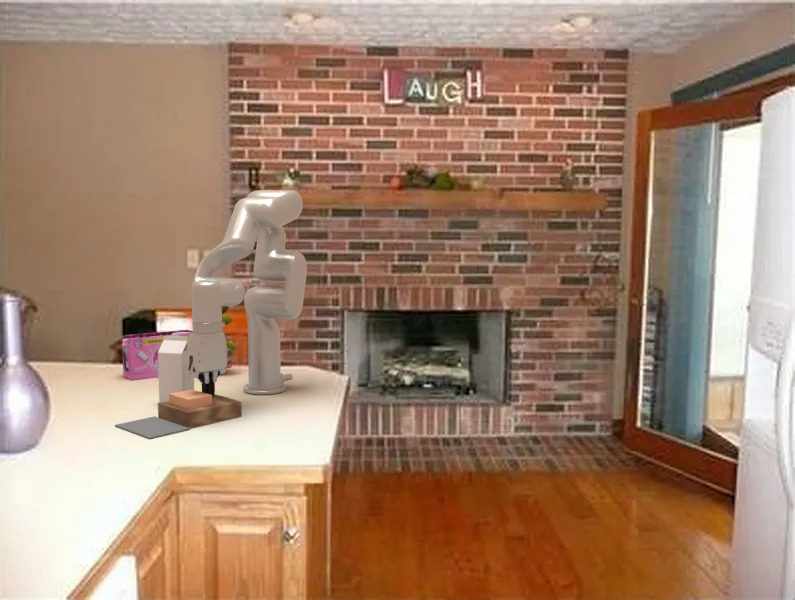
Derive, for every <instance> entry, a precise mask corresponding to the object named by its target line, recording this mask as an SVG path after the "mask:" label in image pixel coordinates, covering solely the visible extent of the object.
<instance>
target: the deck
mask: <svg viewBox="0 0 795 600" xmlns="http://www.w3.org/2000/svg"><path fill="white" fill-rule="evenodd" d="M242 404H243V403H242V401H241V400H238V399H234V398H230V397H226V396H222V395H219V394H215V397H214V398H212V405H208V406H203V407H198V408H194V409H186V408H182V407H179V406H176V405H173V404H170V403H169V401H166V402H161V403H159V402H157V413H158V414H157V415H158V418H161V419H164V420H167V421H170V422H173V423H176V424H179V425H182V426H185V427H188V428H190V429H194V428H198V427H203V426H206V425H210V424H215V423H218V422H223V421H227V420H231V419H236V418H240V417H242V415H243V413H242V411H243V409H242V407H243V405H242Z"/></svg>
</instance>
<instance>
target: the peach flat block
mask: <svg viewBox="0 0 795 600" xmlns="http://www.w3.org/2000/svg"><path fill="white" fill-rule="evenodd" d="M169 403H170V404H173V405H176V406H179V407H182V408H186V409H194V408H198V407H203V406H208V405H212V395H210V394H207V393H203V392H202V391H200V390H195V389H194V390H187V391H182V392H177V393H171V394H169Z"/></svg>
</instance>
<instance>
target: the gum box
mask: <svg viewBox="0 0 795 600" xmlns="http://www.w3.org/2000/svg"><path fill="white" fill-rule="evenodd" d="M190 334H193V330H191V329H190V330H189V329H179V330H178V329H177V330H171V331H170V330H169V331H159V332H158V331H157V332H149V333H148V332H147V333H137V334H125V335H122V337H121V339H122V340H121V342H122V343H121V348H122V375H123V377H125V378H126V379H128V380H130V381H137V380H145V379H146V380H147V379H153V378H154V379H155V378H159V371H158V351H159V349H160V347H161V345H162V343H163V341H164V336H178V337H188V340H189V336H190Z"/></svg>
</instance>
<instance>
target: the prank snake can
mask: <svg viewBox="0 0 795 600" xmlns="http://www.w3.org/2000/svg"><path fill="white" fill-rule="evenodd" d="M229 308H230V306H222V322H225V326H228V325H230V324H231V323H232V321H233V318H232V317H231V316H230V315H225V313H226V312H227V311H228V310H229ZM224 335H225V340H226V346H227V366H226V369H230V368H232V367H233V363H232V362H233V361H232V360H233V351H234V352H238V351H239V346H238V345H237V344H235V343H233V342H232V341H233V339H232V334H231V333H224Z"/></svg>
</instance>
